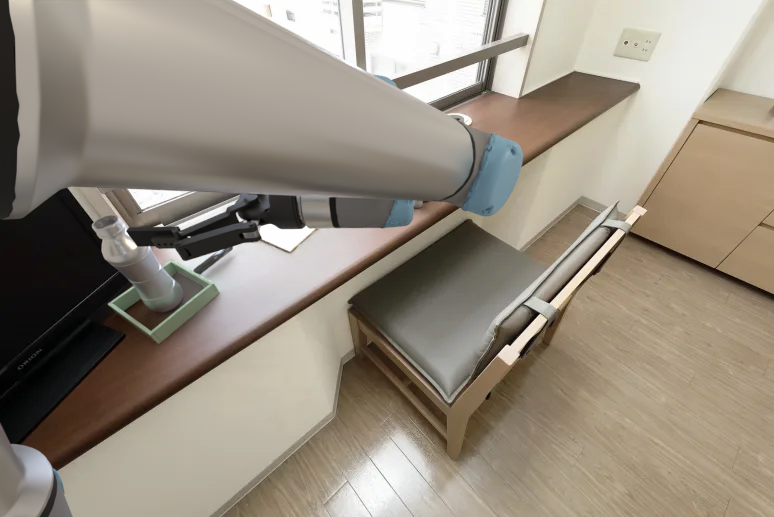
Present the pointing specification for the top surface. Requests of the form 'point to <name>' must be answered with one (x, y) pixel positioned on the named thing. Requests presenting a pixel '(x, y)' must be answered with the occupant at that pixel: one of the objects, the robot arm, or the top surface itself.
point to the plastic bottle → (137, 265)
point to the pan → (183, 312)
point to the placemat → (284, 236)
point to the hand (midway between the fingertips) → (158, 205)
